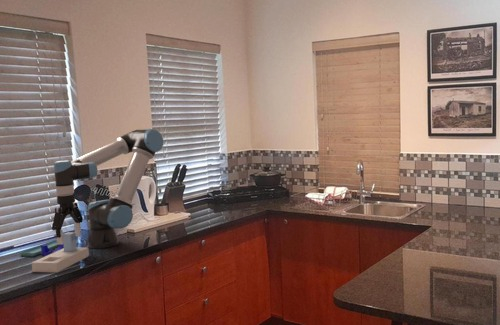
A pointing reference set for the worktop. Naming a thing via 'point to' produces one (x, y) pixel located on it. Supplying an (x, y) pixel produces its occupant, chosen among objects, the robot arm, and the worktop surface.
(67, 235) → the plug
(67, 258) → the socket strip
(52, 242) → the rectangular tray
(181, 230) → the worktop surface
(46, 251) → the blue angular bent piece
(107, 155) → the robot arm
